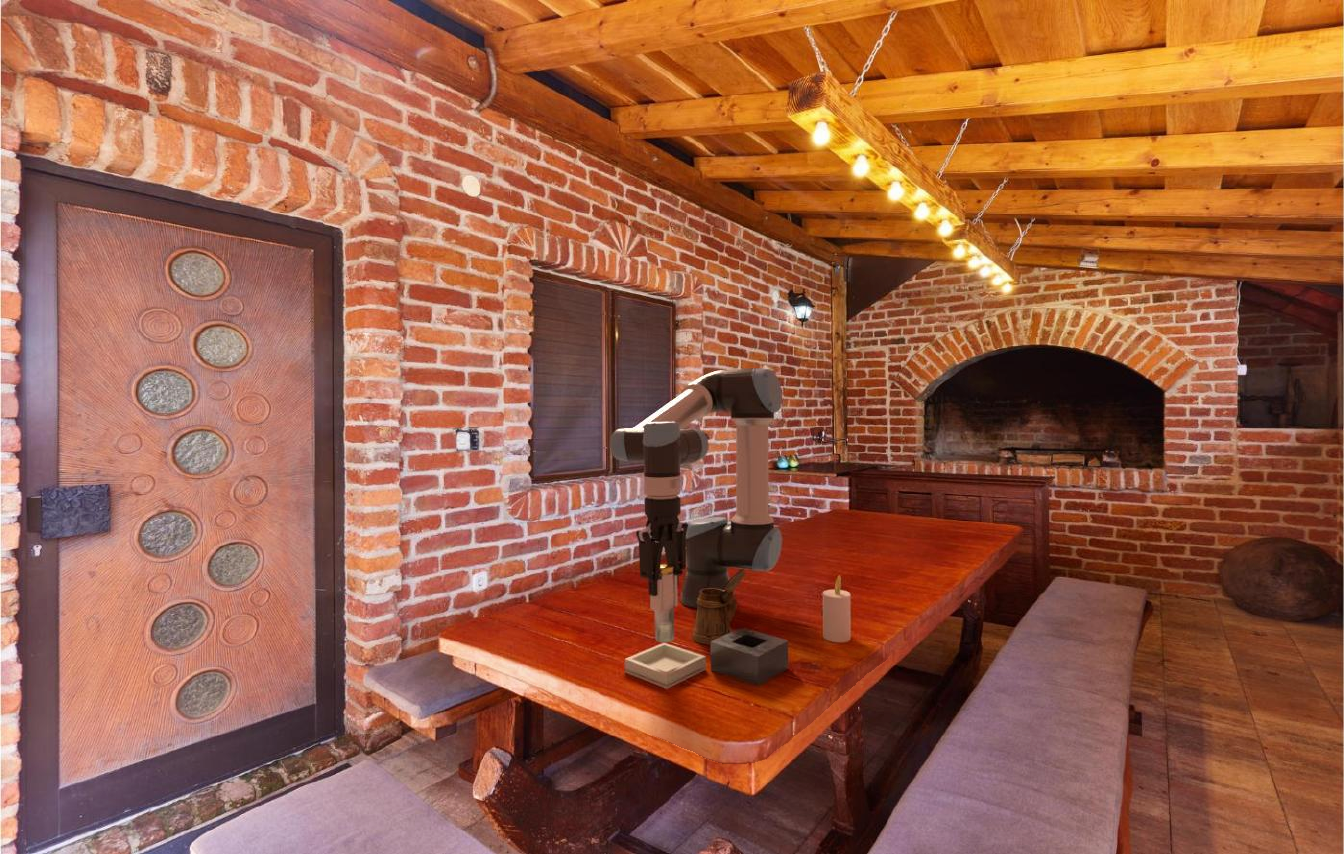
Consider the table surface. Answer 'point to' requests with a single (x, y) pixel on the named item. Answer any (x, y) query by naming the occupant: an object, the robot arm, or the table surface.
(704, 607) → the wooden mug
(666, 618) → the gold capped cylinder
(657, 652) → the tray
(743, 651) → the block
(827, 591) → the candle
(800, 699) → the table surface
